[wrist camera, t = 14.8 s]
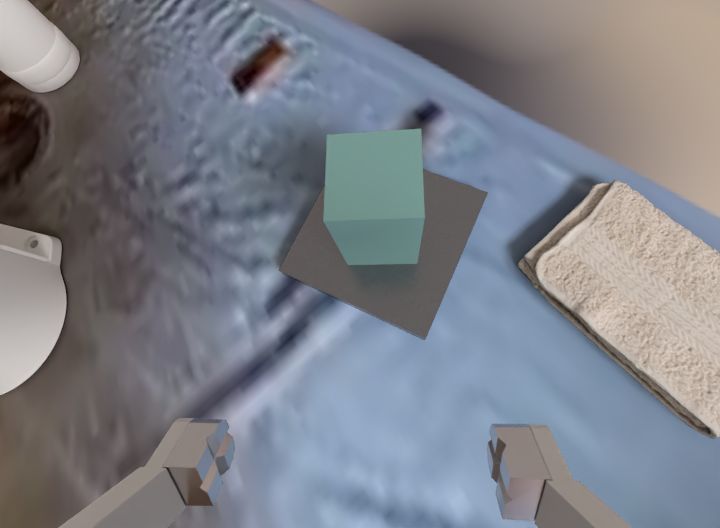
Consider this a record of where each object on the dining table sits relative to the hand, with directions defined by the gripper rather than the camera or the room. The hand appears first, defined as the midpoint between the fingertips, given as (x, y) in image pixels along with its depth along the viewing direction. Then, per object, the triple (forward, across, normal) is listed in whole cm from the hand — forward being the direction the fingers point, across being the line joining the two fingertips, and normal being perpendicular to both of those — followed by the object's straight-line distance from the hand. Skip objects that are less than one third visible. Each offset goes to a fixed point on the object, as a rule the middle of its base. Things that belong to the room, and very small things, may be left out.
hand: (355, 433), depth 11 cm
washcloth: (+19, -22, +8) cm, 30 cm away
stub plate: (+23, 0, +3) cm, 23 cm away
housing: (+22, 0, +2) cm, 22 cm away
